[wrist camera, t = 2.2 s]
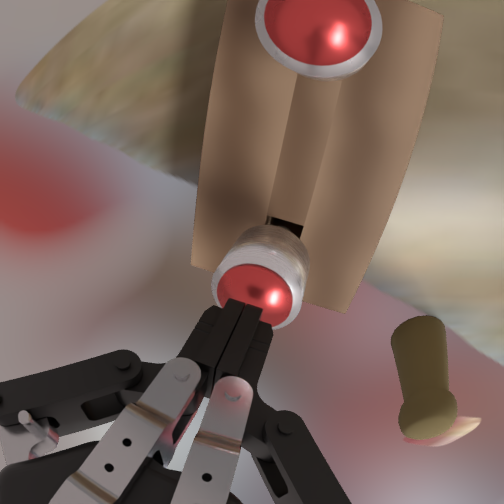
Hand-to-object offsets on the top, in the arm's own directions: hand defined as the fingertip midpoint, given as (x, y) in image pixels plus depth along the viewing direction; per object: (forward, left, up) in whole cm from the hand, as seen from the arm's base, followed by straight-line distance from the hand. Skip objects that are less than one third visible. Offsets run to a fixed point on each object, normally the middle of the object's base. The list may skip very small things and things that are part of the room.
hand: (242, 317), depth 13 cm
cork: (-16, +9, -13) cm, 23 cm away
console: (0, -6, -13) cm, 14 cm away
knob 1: (0, 0, -8) cm, 8 cm away
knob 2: (0, -12, -8) cm, 14 cm away
